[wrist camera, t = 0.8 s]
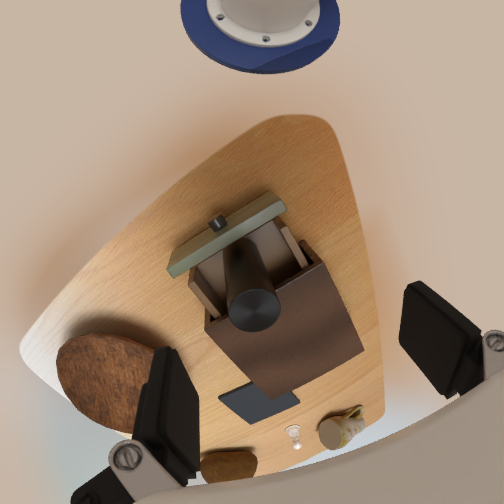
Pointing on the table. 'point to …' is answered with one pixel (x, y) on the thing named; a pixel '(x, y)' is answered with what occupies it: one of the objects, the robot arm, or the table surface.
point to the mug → (341, 429)
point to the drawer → (228, 231)
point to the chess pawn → (294, 435)
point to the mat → (256, 403)
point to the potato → (228, 466)
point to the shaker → (249, 288)
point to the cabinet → (293, 333)
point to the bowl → (104, 377)
